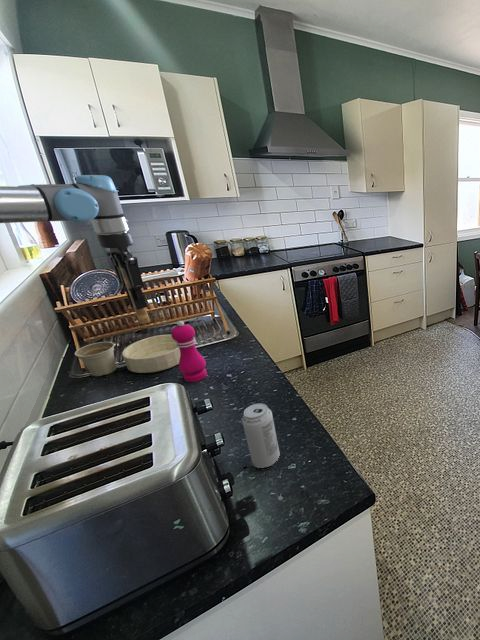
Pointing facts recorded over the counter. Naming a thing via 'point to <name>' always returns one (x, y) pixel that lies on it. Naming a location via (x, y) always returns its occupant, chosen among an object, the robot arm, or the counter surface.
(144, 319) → the stick
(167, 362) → the bowl
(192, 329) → the pepper mill
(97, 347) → the flower pot
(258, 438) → the energy drink can
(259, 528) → the counter surface
